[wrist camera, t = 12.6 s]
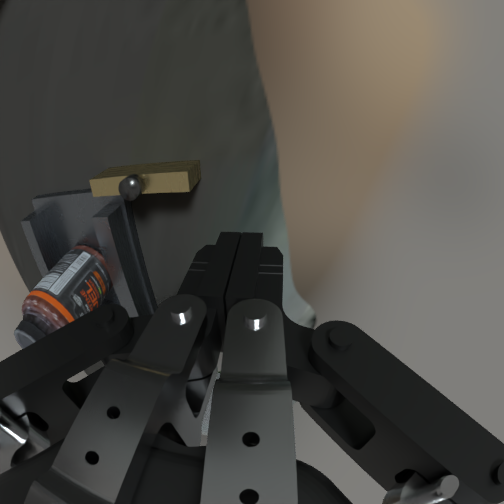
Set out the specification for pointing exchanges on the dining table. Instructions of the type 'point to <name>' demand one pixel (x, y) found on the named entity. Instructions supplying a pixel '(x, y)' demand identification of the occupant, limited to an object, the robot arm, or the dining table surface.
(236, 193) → the dining table surface
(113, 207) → the dock
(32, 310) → the supplement bottle
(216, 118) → the dining table surface
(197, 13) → the dining table surface
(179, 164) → the bar
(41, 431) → the robot arm
